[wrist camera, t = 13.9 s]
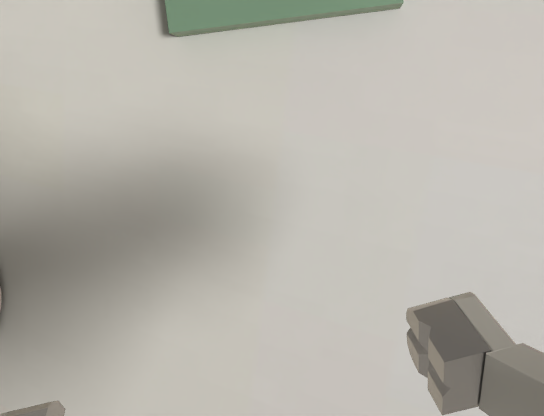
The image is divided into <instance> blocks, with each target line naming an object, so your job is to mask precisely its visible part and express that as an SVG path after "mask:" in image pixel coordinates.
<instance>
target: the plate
mask: <svg viewBox="0 0 544 416" xmlns="http://www.w3.org/2000/svg"><path fill="white" fill-rule="evenodd" d="M402 4H403V0H165V6H166V14H167V21H168V29H169V33H170V34H172V35H175V36H177V37H180V36H188V35H196V34H204V33H211V32H219V31H227V30H235V29H243V28H250V27H258V26H266V25H274V24H282V23H290V22H297V21H305V20H313V19H321V18H329V17H336V16H344V15H352V14H360V13H368V12H375V11H383V10H391V9H399V8H400V7H401V6H402Z"/></svg>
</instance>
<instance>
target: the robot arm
mask: <svg viewBox="0 0 544 416" xmlns="http://www.w3.org/2000/svg"><path fill="white" fill-rule="evenodd" d="M0 311H1V288H0ZM406 320H407V322H408V324H409V325H410V327H411V328H410V329H409V331H408V332H407V344H408V348H409V352H410V355H411V358H412V360H413V362H414V364H415V366H416V368H417V370H418V372H419V373H420V374H422V375H424V376H425V377H427V378H428V391H429V392H430V394H431V396H432V398H433V400H434V402H435V403H436V405H437V407H438V409H439V411H440V412H441V414H442V415H445V414H449V413H453V412H457V411H461V410H466V409H470V408H474V407H478V406H479V409H481V410H482V411H483V412H485V413H486V414H488V415H489V416H544V353H543V352H540V351H538V350H536V349H534V348H532V347H530V346H528V345H526V344H524V343H521V344H517V345H516V344H515V342H514V341H513V340H512V339H511V338H510V336H509V335H508V334H507V333H506V332H505V330H504V329H503V328H502V327H501V326H500V324H499V323H498V322H497V321H496V320H495V318H494V317H493V316H492V315H491V314H490V312H489V311H488V310H487V309H486V307H485V306H484V305H483V304H482V303H481V301H480V300H479V299H478V298H477V297H476V295H475V294H473V293H471V292H468V293H464V294H460V295H457V296H453V297H449V298H444V299H440V300H437V301H433V302H429V303H426V304H422V305H418V306H415V307H411V308H408V309H407V312H406ZM64 413H65V408H64V407H63V405H62V404H61V403H60V402H59V401H53V402H48V403H44V404H40V405H35V406H31V407H27V408H22V409H18V410H14V411H10V412H6V413H2V414H0V416H64Z"/></svg>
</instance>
